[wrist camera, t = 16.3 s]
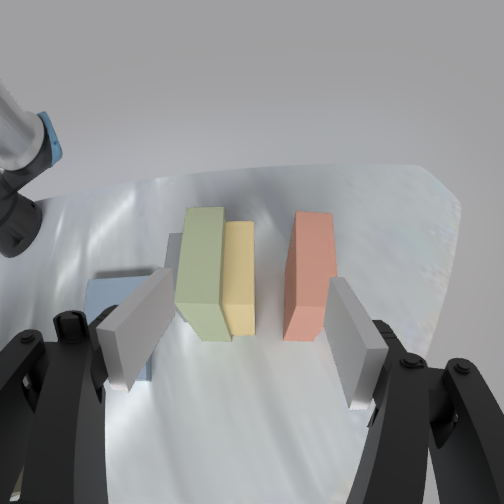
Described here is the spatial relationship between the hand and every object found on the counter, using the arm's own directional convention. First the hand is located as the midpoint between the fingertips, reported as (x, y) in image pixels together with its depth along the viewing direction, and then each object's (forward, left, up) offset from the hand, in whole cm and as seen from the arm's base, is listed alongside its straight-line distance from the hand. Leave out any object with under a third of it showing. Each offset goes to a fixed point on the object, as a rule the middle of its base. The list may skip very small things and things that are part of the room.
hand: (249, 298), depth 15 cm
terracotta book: (-10, +7, -31) cm, 33 cm away
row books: (-11, -4, -30) cm, 32 cm away
